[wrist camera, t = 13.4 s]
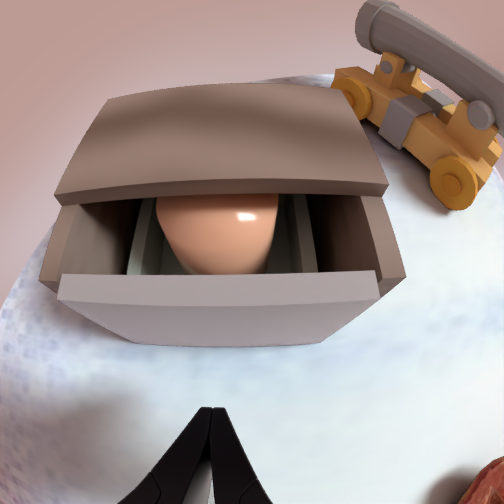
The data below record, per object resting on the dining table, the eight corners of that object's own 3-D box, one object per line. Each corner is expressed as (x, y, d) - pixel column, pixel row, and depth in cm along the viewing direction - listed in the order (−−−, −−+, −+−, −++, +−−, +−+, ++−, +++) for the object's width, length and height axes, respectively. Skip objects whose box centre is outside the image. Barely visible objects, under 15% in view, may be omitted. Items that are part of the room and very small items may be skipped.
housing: (337, 330, 16) (417, 267, 8) (119, 331, 15) (26, 271, 7) (314, 189, 21) (340, 89, 13) (144, 193, 20) (108, 99, 12)
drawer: (319, 342, 15) (380, 298, 8) (134, 343, 15) (56, 299, 8) (301, 204, 20) (324, 113, 13) (154, 207, 19) (120, 121, 12)
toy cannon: (469, 238, 19) (561, 126, 6) (315, 103, 28) (335, -13, 14) (498, 181, 24) (549, 105, 11) (385, 86, 32) (408, 7, 19)
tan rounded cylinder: (270, 300, 15) (282, 250, 10) (180, 300, 15) (146, 251, 10) (266, 223, 18) (274, 154, 13) (187, 223, 18) (167, 157, 12)
